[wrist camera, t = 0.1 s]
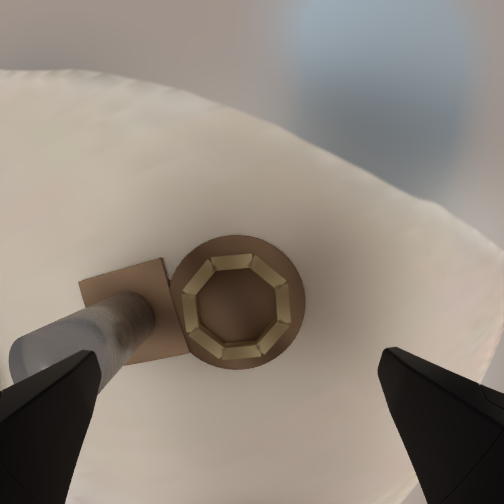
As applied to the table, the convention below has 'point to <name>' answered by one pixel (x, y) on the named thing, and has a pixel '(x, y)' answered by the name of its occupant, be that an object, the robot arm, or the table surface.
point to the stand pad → (156, 293)
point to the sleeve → (87, 337)
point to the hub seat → (238, 301)
